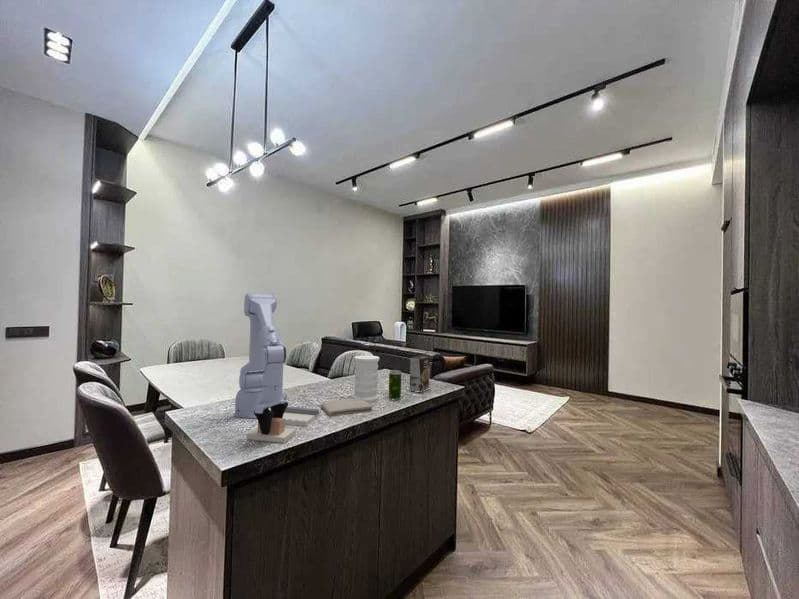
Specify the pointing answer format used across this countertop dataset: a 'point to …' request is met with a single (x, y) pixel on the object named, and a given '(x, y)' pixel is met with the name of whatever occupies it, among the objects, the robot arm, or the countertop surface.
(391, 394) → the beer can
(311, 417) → the ticket board
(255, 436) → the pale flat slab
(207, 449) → the countertop surface
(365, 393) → the decorative container
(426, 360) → the coffee box
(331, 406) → the washcloth
